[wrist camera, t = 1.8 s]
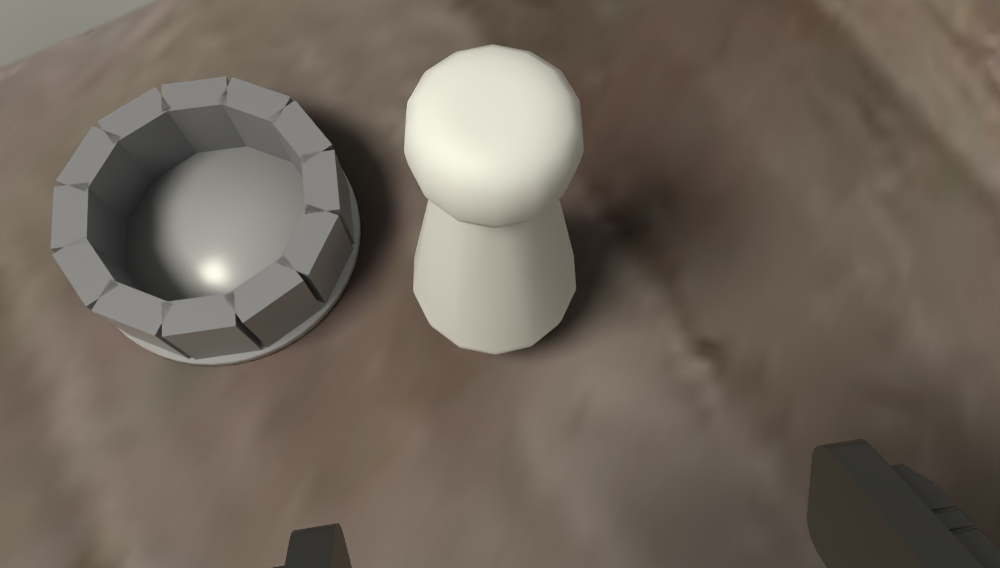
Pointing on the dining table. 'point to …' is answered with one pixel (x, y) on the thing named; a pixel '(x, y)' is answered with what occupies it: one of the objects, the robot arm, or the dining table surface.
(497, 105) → the salt shaker
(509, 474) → the dining table surface
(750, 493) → the dining table surface
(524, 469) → the dining table surface
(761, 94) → the dining table surface
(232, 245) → the bowl
